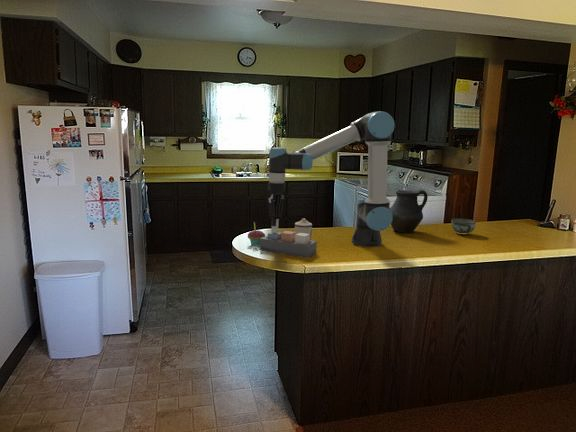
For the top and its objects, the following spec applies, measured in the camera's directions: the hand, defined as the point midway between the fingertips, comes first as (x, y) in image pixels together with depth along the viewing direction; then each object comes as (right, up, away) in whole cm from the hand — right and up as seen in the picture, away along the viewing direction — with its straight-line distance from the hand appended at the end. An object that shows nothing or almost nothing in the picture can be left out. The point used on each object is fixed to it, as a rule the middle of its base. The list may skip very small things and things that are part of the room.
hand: (274, 232), depth 204 cm
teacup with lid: (+13, -5, +20) cm, 25 cm away
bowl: (+107, -3, +51) cm, 119 cm away
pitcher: (+74, -1, +52) cm, 91 cm away
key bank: (+6, -9, -1) cm, 11 cm away
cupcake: (-9, -7, +8) cm, 14 cm away
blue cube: (0, -5, +1) cm, 5 cm away
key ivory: (+13, -5, -5) cm, 15 cm away
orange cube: (+6, -5, -2) cm, 8 cm away
